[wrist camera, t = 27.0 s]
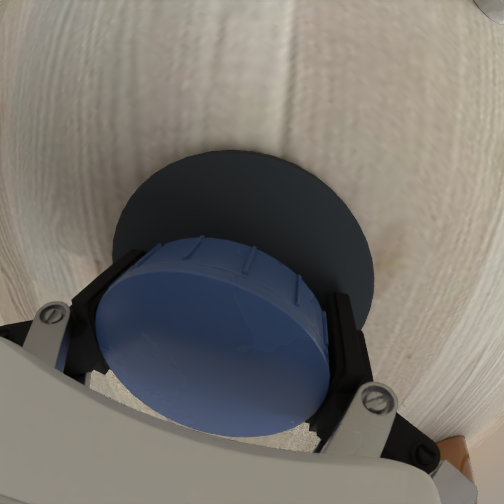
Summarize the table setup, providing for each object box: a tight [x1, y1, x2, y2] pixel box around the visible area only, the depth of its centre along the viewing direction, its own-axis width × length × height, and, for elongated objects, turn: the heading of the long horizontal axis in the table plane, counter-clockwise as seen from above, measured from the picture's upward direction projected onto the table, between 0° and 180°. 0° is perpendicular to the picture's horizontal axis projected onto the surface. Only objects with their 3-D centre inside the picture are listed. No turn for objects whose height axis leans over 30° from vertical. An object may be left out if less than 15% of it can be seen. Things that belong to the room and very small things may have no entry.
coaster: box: [112, 150, 374, 330], centre depth 11 cm, size 11×11×1 cm
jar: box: [436, 436, 478, 504], centre depth 11 cm, size 7×7×11 cm
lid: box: [95, 236, 330, 437], centre depth 8 cm, size 7×7×2 cm
